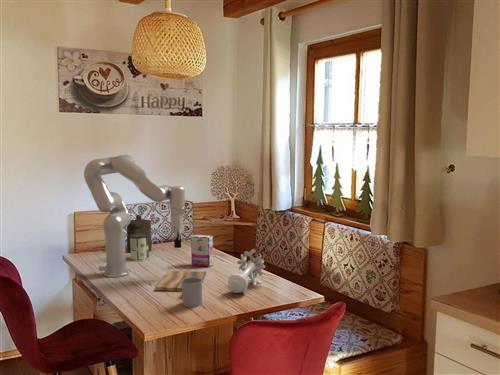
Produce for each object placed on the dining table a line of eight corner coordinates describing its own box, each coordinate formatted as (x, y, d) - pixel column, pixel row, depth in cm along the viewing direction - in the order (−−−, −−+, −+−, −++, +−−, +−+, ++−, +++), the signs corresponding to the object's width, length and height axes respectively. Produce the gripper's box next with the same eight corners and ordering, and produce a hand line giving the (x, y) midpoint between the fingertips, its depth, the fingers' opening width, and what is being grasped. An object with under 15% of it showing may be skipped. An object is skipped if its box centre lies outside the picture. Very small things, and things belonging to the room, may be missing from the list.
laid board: (176, 291, 238) (176, 287, 237) (186, 274, 265) (186, 271, 265) (198, 291, 237) (198, 287, 237) (205, 274, 265) (205, 271, 265)
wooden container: (156, 248, 324) (155, 213, 322) (142, 253, 311) (141, 217, 309) (136, 246, 330) (135, 212, 328) (122, 251, 317) (120, 216, 315)
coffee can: (139, 256, 306) (138, 232, 304) (152, 258, 300) (152, 234, 299) (126, 259, 297) (125, 235, 295) (140, 262, 291) (139, 237, 290)
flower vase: (246, 309, 232) (266, 280, 254) (248, 274, 225) (269, 248, 246) (220, 300, 237) (242, 273, 258) (221, 266, 229) (244, 241, 251)
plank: (156, 290, 238) (156, 287, 238) (168, 273, 266) (168, 270, 266) (175, 290, 238) (175, 287, 237) (185, 274, 265) (185, 271, 265)
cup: (183, 300, 224) (182, 278, 223) (202, 299, 225) (201, 277, 224) (182, 307, 216) (181, 283, 215) (202, 306, 216) (201, 283, 215)
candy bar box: (213, 265, 283) (213, 235, 281) (209, 267, 279) (209, 237, 277) (195, 263, 287) (194, 234, 286) (191, 265, 283) (190, 235, 281)
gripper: (172, 208, 266) (173, 244, 268) (166, 213, 251) (167, 250, 253) (187, 209, 265) (187, 244, 267) (182, 213, 250) (182, 251, 252)
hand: (177, 247), depth 260 cm, fingers closed
